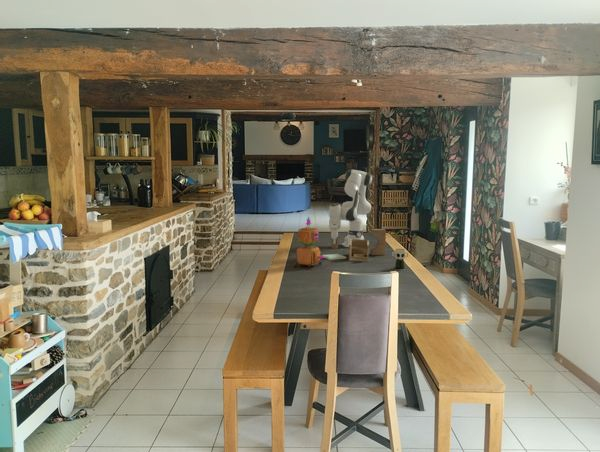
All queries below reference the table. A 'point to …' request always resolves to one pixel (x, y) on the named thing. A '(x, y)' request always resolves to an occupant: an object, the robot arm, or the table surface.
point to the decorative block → (379, 242)
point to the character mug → (400, 257)
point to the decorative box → (308, 246)
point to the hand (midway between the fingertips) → (334, 243)
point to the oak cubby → (358, 250)
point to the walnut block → (335, 244)
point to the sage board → (334, 256)
